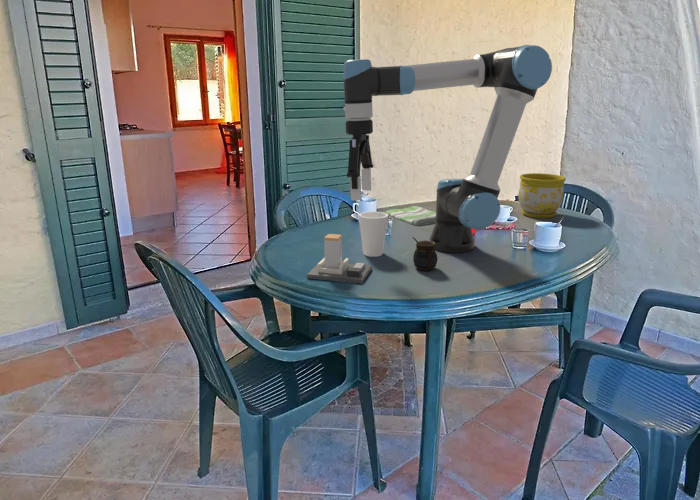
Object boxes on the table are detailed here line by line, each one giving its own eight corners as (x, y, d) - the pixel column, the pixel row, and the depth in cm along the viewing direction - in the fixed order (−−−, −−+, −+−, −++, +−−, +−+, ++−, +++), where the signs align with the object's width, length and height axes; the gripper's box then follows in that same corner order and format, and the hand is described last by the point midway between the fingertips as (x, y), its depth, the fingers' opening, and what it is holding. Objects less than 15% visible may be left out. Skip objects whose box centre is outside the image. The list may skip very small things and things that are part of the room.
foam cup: (367, 259, 160) (367, 219, 156) (353, 251, 168) (353, 213, 164) (393, 255, 164) (394, 216, 160) (378, 248, 172) (379, 210, 168)
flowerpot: (509, 210, 225) (513, 173, 220) (548, 209, 227) (552, 172, 222) (527, 220, 208) (531, 180, 203) (569, 219, 210) (574, 179, 205)
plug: (342, 267, 149) (341, 234, 146) (338, 272, 146) (337, 238, 143) (329, 266, 150) (328, 233, 147) (324, 270, 147) (324, 237, 144)
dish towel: (414, 227, 200) (415, 218, 199) (383, 215, 219) (383, 207, 218) (449, 222, 208) (449, 213, 207) (415, 210, 227) (416, 203, 226)
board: (371, 269, 151) (371, 257, 150) (361, 283, 140) (361, 270, 139) (320, 264, 156) (320, 253, 154) (307, 278, 144) (306, 265, 143)
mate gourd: (441, 271, 150) (442, 238, 147) (417, 274, 148) (418, 241, 145) (431, 263, 157) (432, 232, 154) (408, 266, 155) (408, 234, 152)
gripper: (356, 116, 153) (358, 186, 159) (333, 123, 130) (337, 204, 137) (380, 115, 151) (382, 186, 158) (362, 122, 128) (364, 205, 135)
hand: (361, 195), depth 147 cm, fingers open, 13 cm apart
